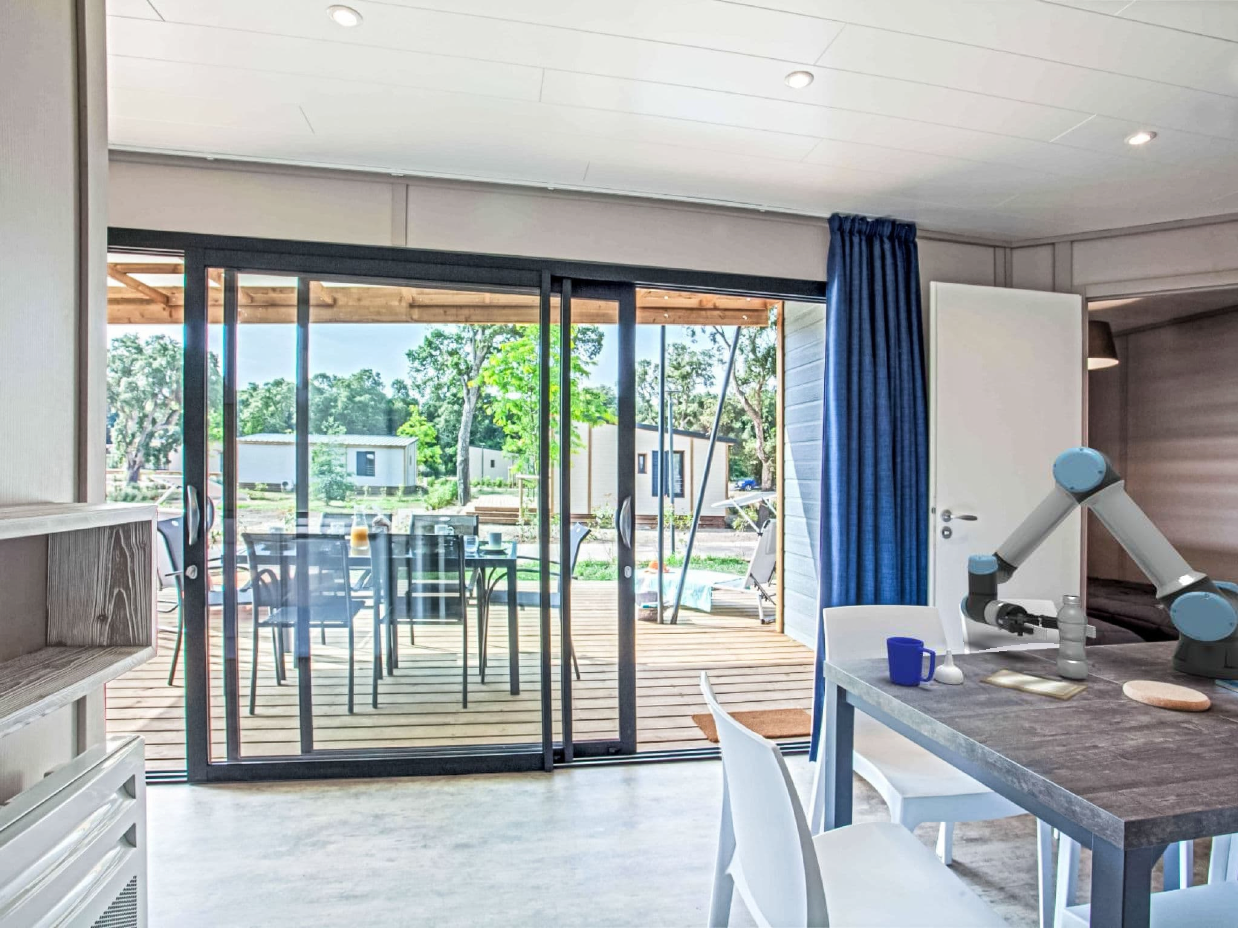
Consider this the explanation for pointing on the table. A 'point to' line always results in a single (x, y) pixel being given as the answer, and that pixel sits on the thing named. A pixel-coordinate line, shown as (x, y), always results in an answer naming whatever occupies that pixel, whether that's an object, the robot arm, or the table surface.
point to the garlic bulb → (948, 671)
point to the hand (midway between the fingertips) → (1070, 633)
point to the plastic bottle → (1072, 639)
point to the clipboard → (1035, 684)
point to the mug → (908, 660)
